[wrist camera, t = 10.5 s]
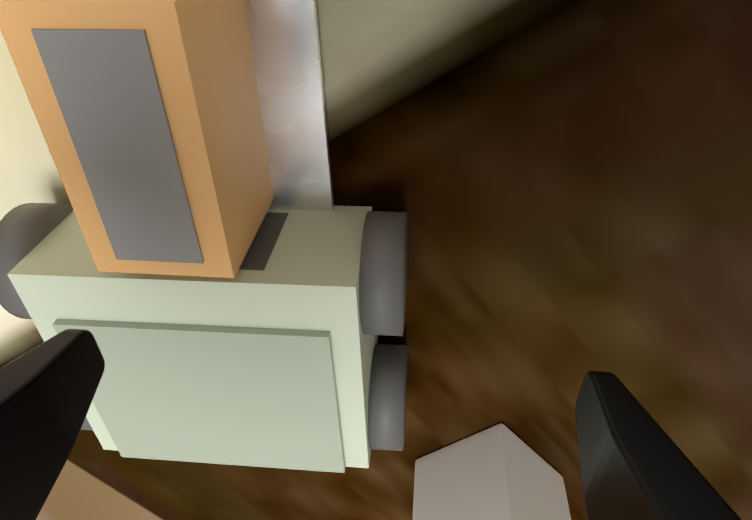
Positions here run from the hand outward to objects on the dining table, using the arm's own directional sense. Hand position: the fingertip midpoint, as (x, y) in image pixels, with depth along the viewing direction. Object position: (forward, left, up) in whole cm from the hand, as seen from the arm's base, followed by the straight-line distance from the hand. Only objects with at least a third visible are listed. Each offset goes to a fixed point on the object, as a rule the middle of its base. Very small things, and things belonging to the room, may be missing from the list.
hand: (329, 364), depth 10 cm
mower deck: (+7, +9, -12) cm, 16 cm away
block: (+7, -1, -11) cm, 13 cm away
